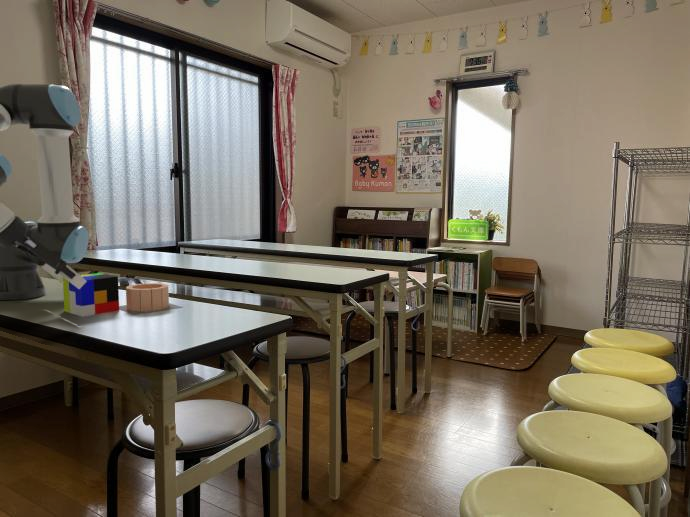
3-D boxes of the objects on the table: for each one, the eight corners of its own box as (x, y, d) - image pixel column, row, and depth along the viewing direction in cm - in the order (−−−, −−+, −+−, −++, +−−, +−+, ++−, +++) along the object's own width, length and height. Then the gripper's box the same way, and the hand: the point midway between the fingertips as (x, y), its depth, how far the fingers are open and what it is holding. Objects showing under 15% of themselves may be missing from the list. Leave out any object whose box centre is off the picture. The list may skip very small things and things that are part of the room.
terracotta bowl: (120, 307, 143) (119, 286, 142) (157, 301, 151) (157, 281, 150) (137, 313, 135) (136, 291, 135) (175, 307, 143) (175, 286, 143)
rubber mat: (113, 308, 143) (113, 306, 143) (160, 302, 153) (160, 300, 153) (134, 316, 133) (134, 315, 133) (183, 309, 143) (183, 307, 143)
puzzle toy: (82, 318, 131) (80, 280, 130) (64, 313, 137) (62, 277, 136) (119, 312, 139) (117, 276, 138) (101, 307, 145) (99, 273, 144)
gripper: (-21, 234, 128) (48, 287, 140) (3, 240, 110) (79, 299, 123) (3, 213, 131) (68, 266, 143) (29, 215, 114) (101, 276, 126)
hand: (73, 282), depth 133 cm, fingers open, 13 cm apart
